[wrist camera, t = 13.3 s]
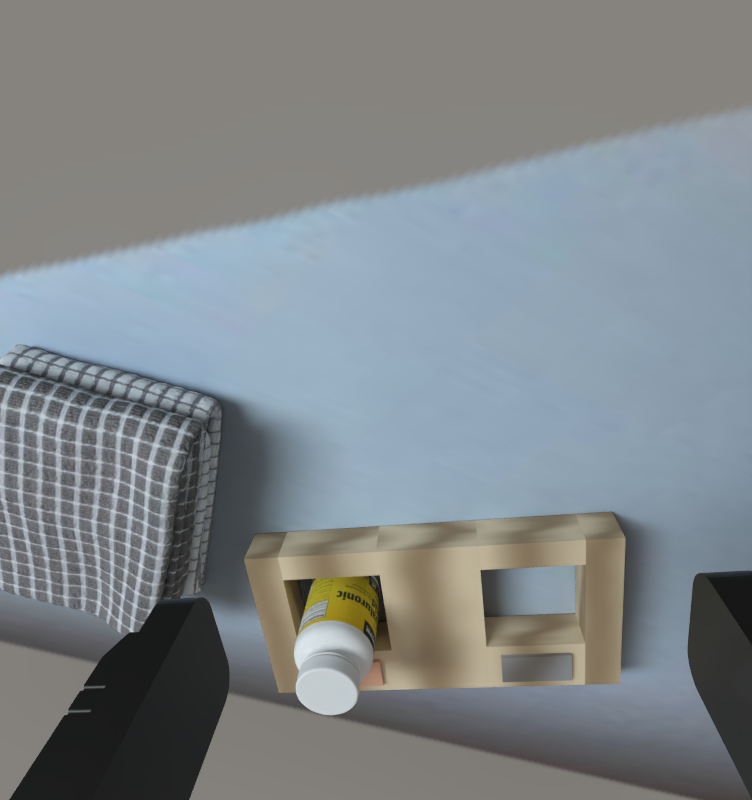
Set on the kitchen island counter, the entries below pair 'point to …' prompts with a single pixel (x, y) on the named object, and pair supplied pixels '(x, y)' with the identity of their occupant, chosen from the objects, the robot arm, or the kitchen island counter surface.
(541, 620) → the socket holder
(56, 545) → the towel
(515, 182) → the kitchen island counter surface
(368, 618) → the supplement bottle
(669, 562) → the kitchen island counter surface
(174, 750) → the robot arm
